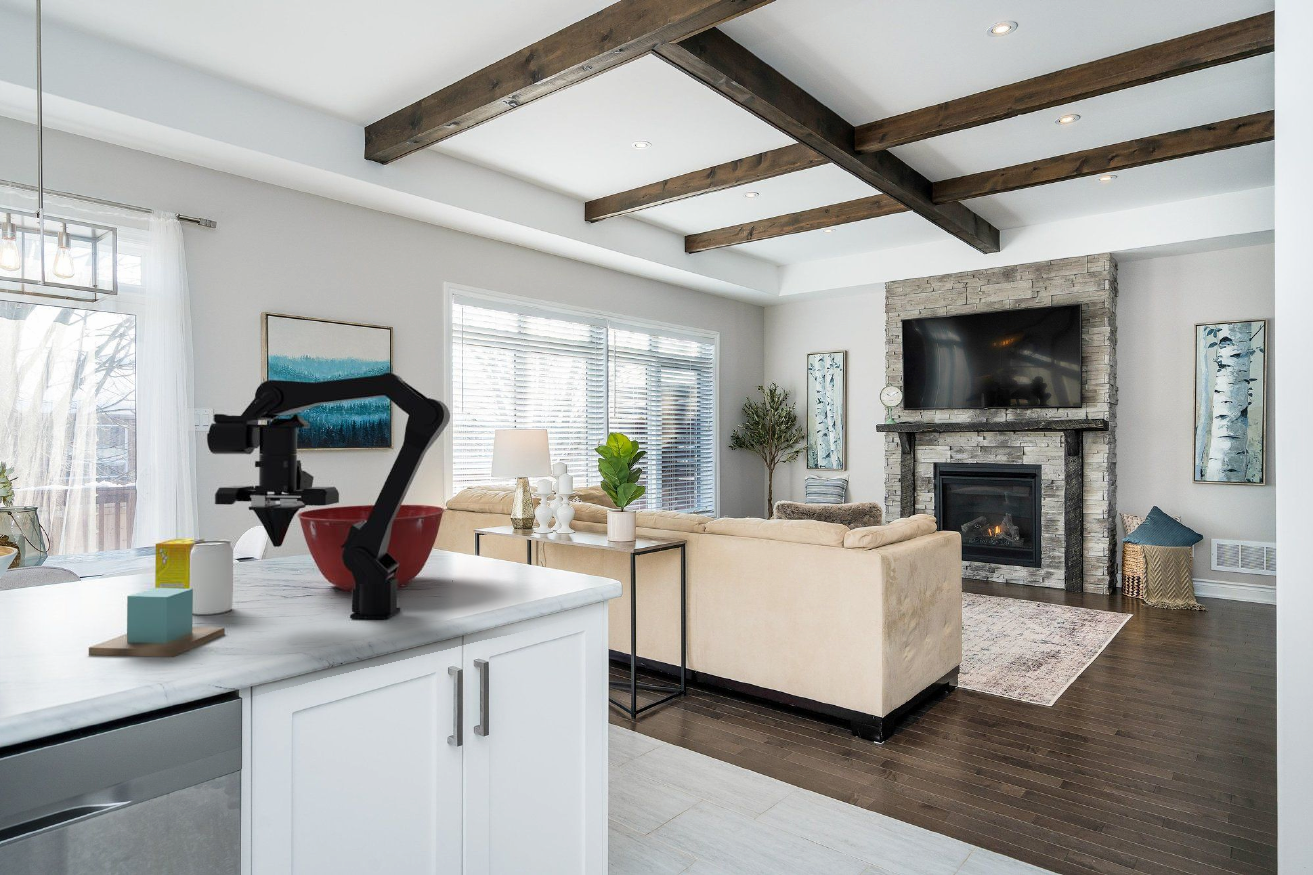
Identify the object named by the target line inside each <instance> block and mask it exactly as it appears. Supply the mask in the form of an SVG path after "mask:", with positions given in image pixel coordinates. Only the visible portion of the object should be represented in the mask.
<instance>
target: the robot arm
mask: <svg viewBox="0 0 1313 875" xmlns="http://www.w3.org/2000/svg"><path fill="white" fill-rule="evenodd" d="M385 397H386V398H387V399H389V400H390V401H391V402H392V403H393V404H394V405H396V406H397V407H398V408H399V409H400V410H401V411H403V412H404V413H406V414H407V415H408V417H407V421H406V424H405V430H404V436H403V442H402V446H401V447H400V450H399V452H398V454H397V456H396V459H395V461H394V462H393V465H392V467H391V468H390V471H389V473H388V476H387V477H386V480H385V481H384V484H383V486H382V488H381V490H380V492H379V494H378V496H377V499H376V501H375V503H374V504H373V505H374V507H373V509H372V511H371V513H370V515H369V517H368V519H367V520H366V521H365V522H364V523H363V522H362V521H361V522H359V523H356V524H354V525H352V526H351V528H350V530H349V534H348V537H347V540H346V541H345V543H344V544H343V545H342V546H341V548H345V549H344V550H343V553H342V560H343V562H344V565H345V566H346V568H347V569H348V570H350V571H351V572H352V575H353V577H354V580H355V588H353V589H352V591H351V612H352V613H351V614H350V615H349V618H350V619H365V620H367V619H371V620H373V619H374V620H386V619H387V620H388V619H389V618H391V617H393V616H395V615H396V614H398V613H399V612H401V611H402V610H401V607H398V588H397V578H393V577H392V576H393V575H395V574H396V572H397V569H398V566H399V563H398V562H397V561H396V560H395V559H394V558H393V557H392V556H391V555H390V554H389V553H388V552H387V548H388V545H389V541H390V535H391V528H392V524H393V521H394V519H395V517H396V515H397V513H398V511H399V508H400V506H401V505H403V504H402V503H403V502H404V499H405V497H406V496H407V493H408V491H409V489H410V487H411V485H412V483H413V480H414V478H415V477H416V475H417V472H418V470H419V468H420V466H421V464H422V462H423V459H424V457H425V455H426V453H427V452H428V450H429V449H430V448H431V447H432V446H433V444H434V443H435V442H436V441H437V439H439V437H440V436H441V434H442V433H443V431H444V430H445V428H446V427H447V426H448V424H449V422H450V418H451V413H450V410H449V407H448V406H447V405H446V403H444V402H443V401H441V400H437V399H434V398H429V397H427V396H426V395H424V394H423V393H422V392H420V390H419V391H418V390H417V389H416V388H414V387H412V385H410V384H408V383H407V382H406V381H405V380H403V378H402V377H401V376H400V375H397V374H395V373H392V372H384V373H381V374H378V375H366V376H357V377H351V378H349V377H348V378H341V379H333V380H332V379H331V380H324V381H323V380H322V381H314V382H312V381H311V382H310V381H296V380H280V379H279V380H278V379H269V380H265V381H263V382H261V383H260V384H259V386H258V387H257V388H256V390H255V393H254V398H253V400H252V401H251V402H250V404H249V405H248V406H247V407H246V408H245V410H244V411H243V412H242V413H241V414H239V415H236V414H235V415H233V414H225V413H215V414H213V421H212V422H211V423H210V426H209V429H208V432H207V433H206V442H207V447H208V449H209V451H210V453H211V454H214V455H251V454H253V452H254V451H255V449H259V454H258V455H259V457H258V458H259V459H258V460H255V461H254V468H258V469H259V470H258V472H259V473H258V474H259V476H258V480H259V481H258V485H231V486H230V485H229V486H221V487H219V488H218V489H217V490H216V491H215V494H214V505H234V504H235V503H236V502H250V503H251V504H250V505H251V506H248V511H253V512H254V514H255V515H256V516H257V518H258V520H259V521H260V522H261V524H262V527H263V528H264V530H265V531H266V534H267V536H268V537H269V538H268V539H270V541H271V544H272V546H273V547H274V548H275V547H276V548H279V547H282V545H283V543H284V540H285V538H286V536H287V532H288V530H289V527H290V525H291V523H292V520H293V519H294V517H295V515H297V513H298V511H299V510H300V509H304V508H305V509H306V506H312V507H313V506H314V507H315V506H316V507H317V506H319V507H320V506H321V507H322V506H329V505H333V504H338V503H340V493H339V491H338V489H337V488H336V487H335V486H313V484H314V478H315V477H314V476H313V475H312V474H310V473H309V472H307V471H306V470H303V468H302V462H301V460H300V459H298V456H297V455H298V429H309V428H311V424H310V423H309V422H308V421H306V419H304V418H303V416H302V415H301V414H297V413H300V412H303V411H306V410H309V409H312V408H313V407H314V408H315V407H317V406H321V405H324V404H333V403H341V402H342V403H343V402H351V401H358V400H360V401H361V400H366V399H367V400H368V399H376V398H385ZM292 414H293V416H292V417H289V418H281V417H279V416H287V415H292ZM259 421H270V423H269V424H259ZM277 502H279V503H277Z"/></svg>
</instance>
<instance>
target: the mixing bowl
mask: <svg viewBox="0 0 1313 875" xmlns="http://www.w3.org/2000/svg"><path fill="white" fill-rule="evenodd" d="M374 505H375V504H368V505H367V504H366V505H365V504H364V505H349V506H346V505H345V506H335V507H325V508H318V509H317V508H315V509H309V510H304V511H301V512H299V513H298V514H296V515H297V518H299V521H300V522H299V523H300V526H301V530H302V533H303V537H304V539H305V543H306V545H307V547H308V550H309V552H310V556H311V557H312V559H313V560H314V561H313V562H314V563H315V565H316V567H317V568H318V570H319V572H320V573H321V575H322V576H323V577H324V578H325V580H327V582H329V583H331V584H332V585H333V586H336V587H338V589H339V590H342V591H348V592H352V589H353V588H355V580H354V577H353V575H352V572H351V571H350V570H348V569H347V568H346V566H345V565H344V562H343V560H342V553H343V550H344V549H345V548H341V546H342V545H343V544H344V543H345V541H346V540H347V537H348V534H349V530H350V528H351V526H352V525H354V524H356V523H359V522H361V521H362V522H363V523H364V522H365V521H366V520H367V519H368V517H369V515H370V513H371V511H372V509H373V507H374ZM444 512H445V508H444V507H441V506H435V505H434V506H433V505H425V504H401V506H400V508H399V511H398V513H397V515H396V517H395V519H394V521H393V524H392V528H391V535H390V541H389V545H388V548H387V552H388V553H389V554H390V555H391V556H392V557H393V558H394V559H395V560H396V561H397V562H398V563H399V566H398V569H397V572H396V574H395V575H393V576H392V577H393V578H397V589H398V588H401V587H403V586H406V585H407V584H408V583H409V582H410V581H412V580H413V579H415V578H416V577H417V576H419V574H420V573H421V571H422V570H423V568H424V566H425V565H426V563H427V561H428V559H429V557H430V555H431V552H432V550H433V548H434V545H435V542H436V539H437V537H438V534H439V529H440V526H441V522H442V517H443V514H444Z"/></svg>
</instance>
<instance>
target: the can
mask: <svg viewBox="0 0 1313 875" xmlns="http://www.w3.org/2000/svg"><path fill="white" fill-rule="evenodd" d="M231 542H232V541H231V540H227V539H216V540H215V539H212V540H210V539H209V540H205V541H200V542H195V543H193V544H194V547H193V549H192V551H191V554H190V589H193V616H214V615H220V614H224V613H228V612H229V611H231V609H233V608H234V607H233V605H234V604H233V600H234V599H233V598H234V549H233V547H232V545H231Z"/></svg>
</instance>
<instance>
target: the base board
mask: <svg viewBox="0 0 1313 875" xmlns="http://www.w3.org/2000/svg"><path fill="white" fill-rule="evenodd" d="M225 628H226V627H219V626H218V627H215V626H214V627H213V626H211V627H210V626H207V627H206V626H192V633H190V634H187V635H185V636H182V637H180V638H177V639H175V640H173V641H170V642H168V643H146V642H127V633H126V634H123V635H120V636H117V637H114V638H112V639H108V640H107V641H106V640H105V641H103V642H100V643H97V644H95V645H92V646H90V647H88V656H119V657H120V656H124V657H125V656H126V657H130V656H131V657H156V658H157V657H161V658H162V657H164V658H165V657H166V658H173V657H175V656H178V655H180V654H183V653H184V652H187V651H190V650H191V649H194V648H197V647H199V646H201V645H204V644H205V643H208V642H210V641H212V640H215V639H217V638H219V637H221V636H223V635H225V634H226V629H225Z"/></svg>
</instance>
